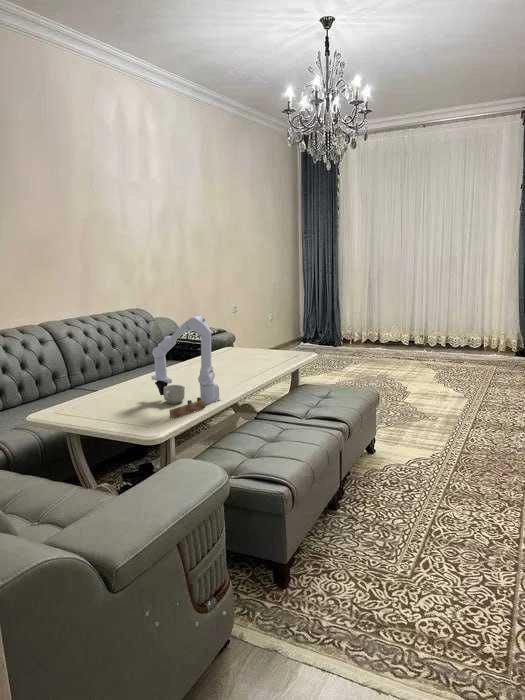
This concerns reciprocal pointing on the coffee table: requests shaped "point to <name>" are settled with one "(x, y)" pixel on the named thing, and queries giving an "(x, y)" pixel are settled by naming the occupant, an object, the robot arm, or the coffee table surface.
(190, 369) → the coffee table surface
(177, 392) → the teacup
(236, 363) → the coffee table surface
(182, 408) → the stop rail
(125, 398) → the coffee table surface
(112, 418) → the coffee table surface
